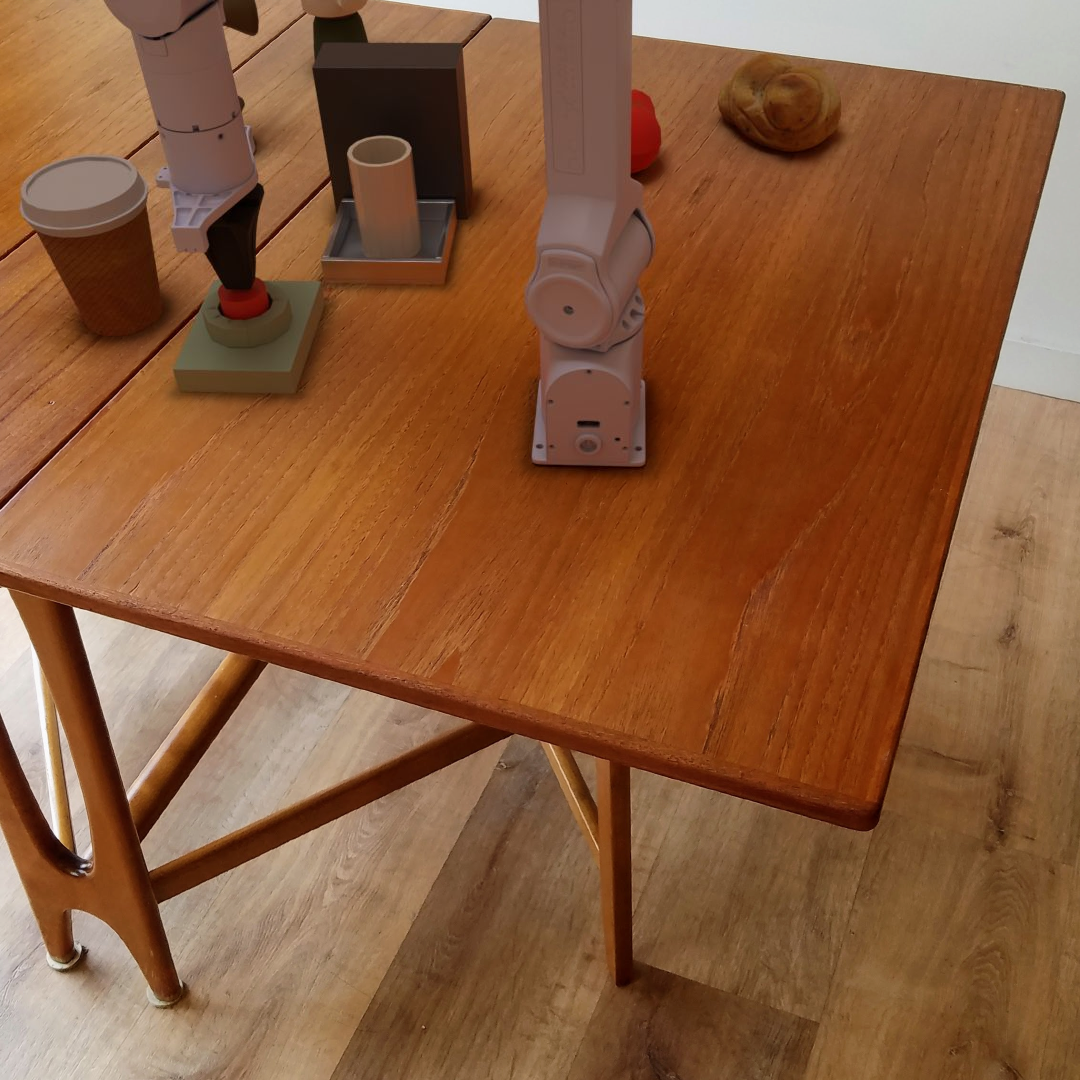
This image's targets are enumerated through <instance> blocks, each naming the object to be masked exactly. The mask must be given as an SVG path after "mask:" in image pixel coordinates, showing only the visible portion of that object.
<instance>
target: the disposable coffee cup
mask: <svg viewBox="0 0 1080 1080" xmlns="http://www.w3.org/2000/svg"><path fill="white" fill-rule="evenodd" d="M137 169H138V168H136V166H135V165H134V163H132V162H131V161H130V160H128V159H126V158H124V157H120V156H117V155H113V154H104V153H91V154H90V153H89V154H80V155H75V156H70V157H67V158H62V159H59V160H56V161H52V162H50V163H48V164H46V165H44V166H42V167H40V168H38V169H36V170H35V171H33V173H31V174H30V175H29V176H28V177H27V178H26V179H25V180H24V181H23V182H22V184H21V187H20V199H21V200H20V202H19V212H20V214H21V217H22V219H23V220H24V221H25V222H26V223H27V224H29V226H30V227H31V228H32V229H33V230H34V231H35V232H36V234H37V236H38V238H39V240H40V242H41V243H42V246H43V247H44V249H45V251H46V253H47V254H48V256H49V258H50V260H51V262H52V264H53V266H54V268H55V269H56V271H57V273H58V275H59V277H60V279H61V281H62V283H63V284H64V286H65V288H66V290H67V292H68V294H69V295H70V297H71V299H72V301H73V303H74V305H75V307H76V308H77V311H78V312H79V314H80V316H81V318H82V320H83V321H84V324H85V325H86V328H87V329H88V330H90V331H91V332H93V333H94V334H97V335H100V336H103V337H122V336H128V335H131V334H135V333H138V332H141V331H142V330H145V329H147V328H148V327H149V328H150V326H152V325H153V324H155V323H156V322H157V321H158V319H159V318H160V317H161V315H162V314H163V310H164V309H163V302H162V301H163V300H162V294H161V290H160V288H161V287H160V281H159V276H158V270H157V269H158V268H157V263H156V257H155V251H154V244H153V238H152V231H151V224H150V219H149V218H150V217H149V212H148V207H147V203H148V198H149V197H148V196H149V185H148V182H147V180H146V178H145V177H144V176H143V175H142V174H140V173H139V171H138V170H137Z"/></svg>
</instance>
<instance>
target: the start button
mask: <svg viewBox="0 0 1080 1080" xmlns="http://www.w3.org/2000/svg"><path fill="white" fill-rule="evenodd" d="M263 281H264V280H262V279H261V278H259V277H257V276H255V281H254V283H253V286H252V288H251V289H250V290H234V289H225V287H224V286H223V284H222V285H221V286H220V287H219V289H218V296H219V300H220V304H221V307H222V311H223V314H224V315H225V316H226V317H227V318H229V319H231V320H247V319H251V318H254V317H258V316H260V315H262V314H263V313H265V312H266V311H267V310H268V309H269V300H268V296H267V291H266V287H265V283H264V282H263Z"/></svg>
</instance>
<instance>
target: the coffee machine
mask: <svg viewBox="0 0 1080 1080" xmlns="http://www.w3.org/2000/svg"><path fill="white" fill-rule="evenodd" d="M463 51H464V48H463V42H369V43H323V45H322V47H321V49H320V51H319V54H318V56H317V58H316V60H315V59H314V62H313V64H312V66H311V70H312V77H313V82H314V88H315V93H316V100H317V106H318V112H319V118H320V124H321V130H322V135H323V141H324V148H325V154H326V159H327V160H326V161H327V165H328V172H329V177H330V183H331V184H330V185H331V189H332V196H333V201H334V207H335V213H336V215H337V213H338V210H339V208H340V205H341V202H342V199H343V198H354V196H353V190H352V183H351V177H350V170H349V164H348V157H347V152H348V150H349V147H351V146H352V145H353V144H354V143H355V142H357V141H360V140H362V139H365V138H369V137H374V136H393V137H398V138H401V139H403V140H405V141H407V142H408V143H409V145H410V146H411V148H412V157H413V166H414V175H415V184H416V193H417V199H455V202H456V214H457V221H460V220H461V221H462V220H463V221H465V220H466V221H467V220H468V219H469V214H470V208H471V204H472V199H473V193H474V189H473V172H472V159H471V158H472V157H471V147H470V132H469V118H468V117H469V116H468V104H467V103H468V102H467V91H466V90H467V89H466V88H467V87H466V77H465V76H466V75H465V62H464V52H463Z"/></svg>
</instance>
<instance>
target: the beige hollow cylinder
mask: <svg viewBox="0 0 1080 1080" xmlns="http://www.w3.org/2000/svg"><path fill="white" fill-rule="evenodd" d="M347 157H348V164H349V170H350V177H351V183H352V190H353V196H354V203H355V209H356V216H357V222H358V229H359V235H360V242H361V246H362V251H363V253H364V255H365V256H366V257H371V258H412V257H413V256H415V255H416V254H417V253H418V252H419V251H420V249H421V246H422V243H421V239H422V238H421V229H420V220H419V211H418V202H417V193H416V184H415V175H414V166H413V157H412V148H411V146H410V145H409V143H408V142H407V141H405V140H403V139H401V138H398V137H393V136H374V137H369V138H365V139H362V140H360V141H357V142H355V143H354V144H353V145H352V146H351V147H349V150H348V152H347Z"/></svg>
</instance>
